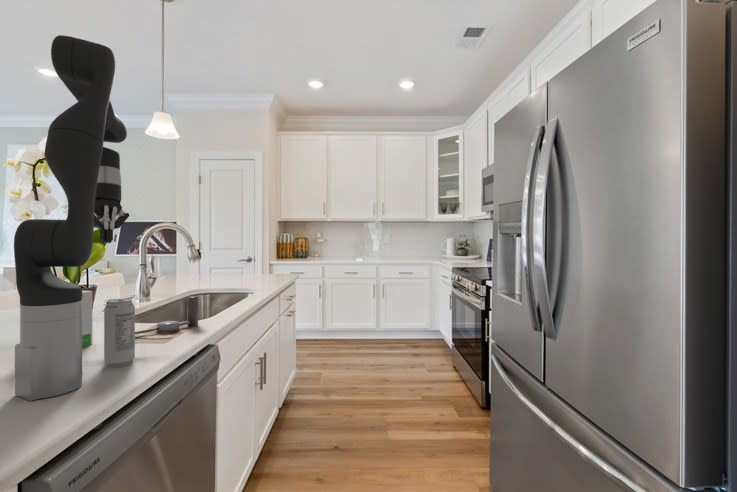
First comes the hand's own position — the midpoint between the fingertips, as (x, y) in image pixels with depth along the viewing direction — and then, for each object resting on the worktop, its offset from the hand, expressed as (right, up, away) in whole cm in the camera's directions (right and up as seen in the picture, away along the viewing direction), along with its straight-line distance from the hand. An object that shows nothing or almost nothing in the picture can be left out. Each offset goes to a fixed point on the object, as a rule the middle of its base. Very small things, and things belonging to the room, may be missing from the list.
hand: (106, 242), depth 108 cm
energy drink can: (+17, -29, -20) cm, 39 cm away
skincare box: (-1, -29, -12) cm, 31 cm away
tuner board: (+14, -28, +3) cm, 32 cm away
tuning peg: (+15, -27, +5) cm, 31 cm away
